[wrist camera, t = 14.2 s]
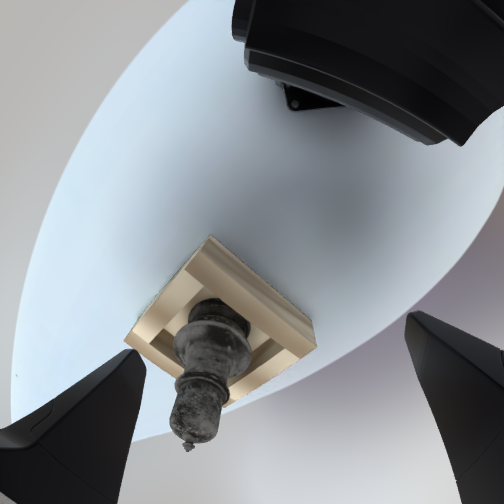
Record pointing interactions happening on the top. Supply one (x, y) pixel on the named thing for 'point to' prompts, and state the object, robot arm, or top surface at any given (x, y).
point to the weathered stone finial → (207, 368)
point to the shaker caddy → (238, 298)
